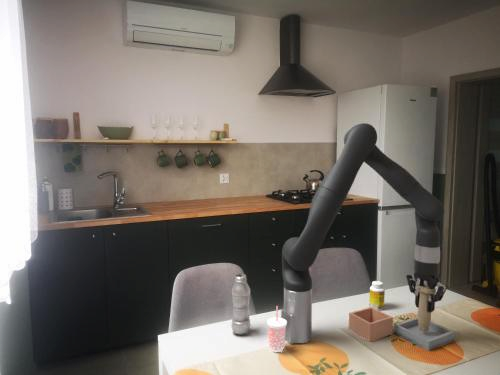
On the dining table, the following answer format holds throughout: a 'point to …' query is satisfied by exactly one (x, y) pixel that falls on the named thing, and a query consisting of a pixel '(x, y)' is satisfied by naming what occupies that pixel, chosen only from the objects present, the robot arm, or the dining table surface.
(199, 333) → the dining table surface
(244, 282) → the plastic bottle
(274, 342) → the beverage cup
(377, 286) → the supplement bottle
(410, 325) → the tray
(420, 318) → the handle
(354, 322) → the terracotta storage bin
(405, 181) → the robot arm
